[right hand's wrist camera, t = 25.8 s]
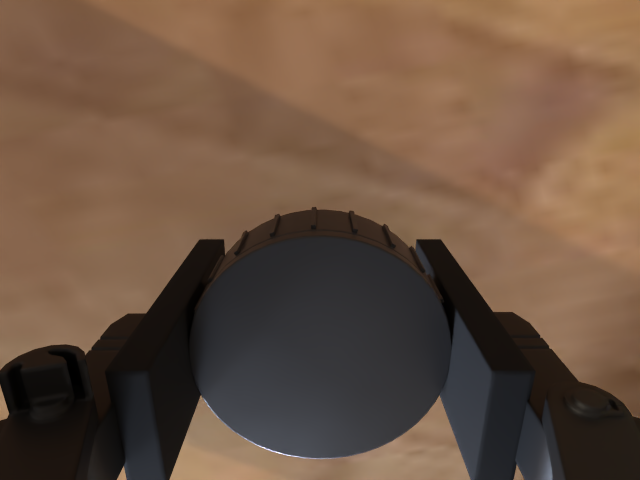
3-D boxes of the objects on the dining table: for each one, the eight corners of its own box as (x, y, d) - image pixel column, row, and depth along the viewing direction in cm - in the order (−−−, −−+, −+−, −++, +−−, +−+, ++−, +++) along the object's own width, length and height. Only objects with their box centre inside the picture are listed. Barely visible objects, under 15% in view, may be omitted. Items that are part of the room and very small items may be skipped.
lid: (470, 355, 12) (495, 403, 11) (279, 437, 13) (272, 493, 12) (373, 161, 11) (384, 180, 9) (159, 275, 12) (129, 312, 10)
